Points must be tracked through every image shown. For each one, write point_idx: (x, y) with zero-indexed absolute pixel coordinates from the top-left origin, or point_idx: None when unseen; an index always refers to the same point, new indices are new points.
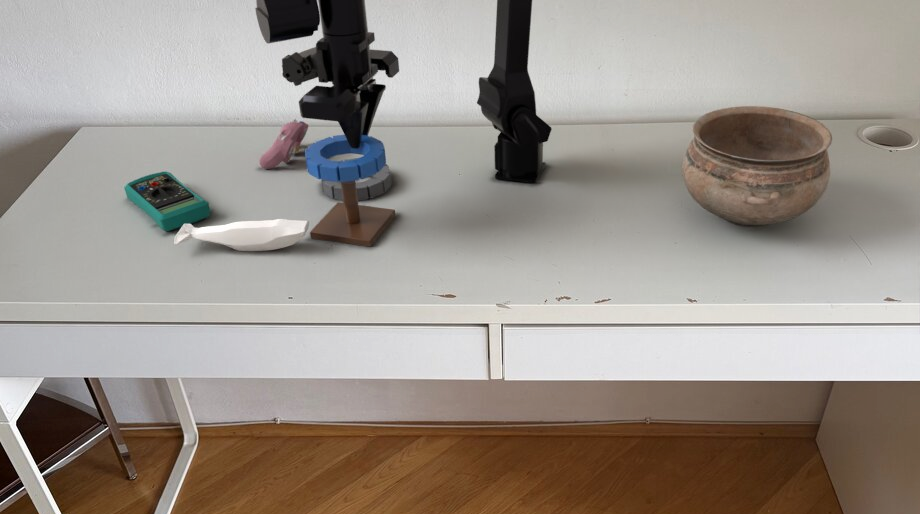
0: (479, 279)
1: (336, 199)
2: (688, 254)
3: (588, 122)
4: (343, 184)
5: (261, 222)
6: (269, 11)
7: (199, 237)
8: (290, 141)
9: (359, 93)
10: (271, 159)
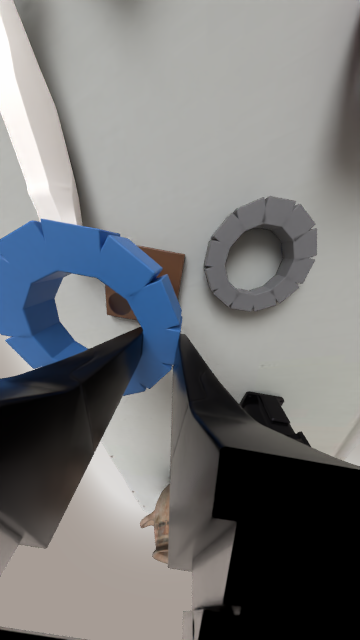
0: None
1: (208, 243)
2: (151, 460)
3: (349, 441)
4: (109, 299)
5: (33, 153)
6: None
7: None
8: None
9: (185, 516)
10: None
